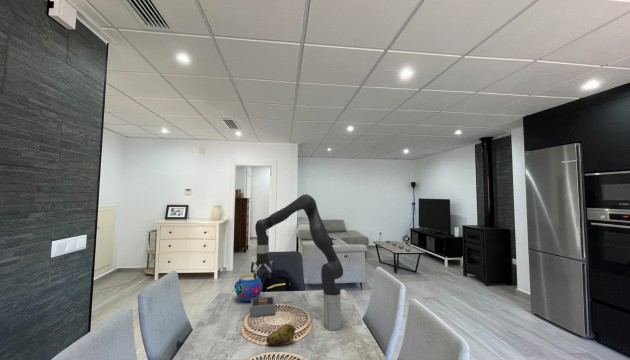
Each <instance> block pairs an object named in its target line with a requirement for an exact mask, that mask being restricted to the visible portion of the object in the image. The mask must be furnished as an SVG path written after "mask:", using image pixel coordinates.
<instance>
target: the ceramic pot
mask: <svg viewBox="0 0 630 360" xmlns="http://www.w3.org/2000/svg"><path fill="white" fill-rule="evenodd" d="M234 289H235V293H236V296H237V298H238V299H239V300H241V301H243V302H251V298H260V295H261V293H262V290H263V283H262V281H261V279H260V277H258V275H256V280H255V279H254V274H253V275H251V274H250V275H244V276H241V277H240V278H239V279H238V281H237V282H235V283H234Z"/></svg>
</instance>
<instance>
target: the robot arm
mask: <svg viewBox="0 0 630 360" xmlns="http://www.w3.org/2000/svg"><path fill="white" fill-rule="evenodd" d="M301 210H303V211H304V212H305V214H306V217H307V219H308V224H309V233H310V236H311V238H312V242H313V243H314V245H315V247H317V249H319V250H320V251H321V253H323V255H324V257H325V258H326V260H327V262H326V263H324V264H323V265H322V266H321V271H320V274H321V275H320V276H321V287H322V290H323V291H322V292H323V293H322V294H323V327H324V328H325V329H327V330H329V331H334V330H335V331H336V330H341V328H342V309H341V308H342V305H341V303H342V301H341V299H342V297H341V295H342V294H341V291H342V290H341V287H340V286H339V285H336V280H338V279H340V278H342V277H343V276H344V268H343V266H342V263H341V261H340V259H339V256H338V255H337V253H336V251H335V249H334V247H333V246H334V245H333V244H332V241H331V240H330V237H329V234H328V231H327V229H326V227H325V224H324V221H323V220H322V218H321V216H320V214H319V209H318V206H317V201H316V200H315V199H314V198H313V197H312V196H311V195H309V194H307V193H305V194H302V195H300V196H299V197H297V198H296V199H295V200H293V201H292V202H291V203H289V204H288V205H286V206H285V207H283V208H281V209H280V210H278V211H276V212H274V213H272V214H270V215H269V216H268V217H266V218H263V219H259V220H257V221H256V222H255V226H254V227H255V235H256V261H255V262H254V261H251V263H250V264H251V266H250V273H252V274H253V275H254V279H255V280H256V276H257V272H258V271H259V270H265V269H266V270H267V271H268V279H271V278H272V276H273V275H272V272H275V260H271V261H270V244H269V242H270V241H269V235H268V234H267V231H268V230H269V229H271V228H272V227H274V226H277V225H278V224H280V223H283V222H284V221H286V220H287V219H288V218H290V217H291V216H292V215H293V214H294V213H296V212H299V211H301ZM255 265H256V267H255ZM269 265H271V268H270V267H269ZM254 267H255V269H254Z"/></svg>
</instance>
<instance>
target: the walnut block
mask: <svg viewBox="0 0 630 360" xmlns="http://www.w3.org/2000/svg"><path fill="white" fill-rule="evenodd" d="M259 298H260V299H259V305H267V298H262V297H259Z"/></svg>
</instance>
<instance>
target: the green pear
mask: <svg viewBox="0 0 630 360" xmlns="http://www.w3.org/2000/svg"><path fill="white" fill-rule="evenodd" d="M295 332H296V328H295V326H294V325H292V324H289V323H288V324H284V325H282V326H280V327H279V328H278V329H277V330H275V331H272V332H271V333H269V334H268V335H267V336H266V343H267V344H269V345H274V344H282V343H284V342H286V341H288V340H291V339H294V336H295Z"/></svg>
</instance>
